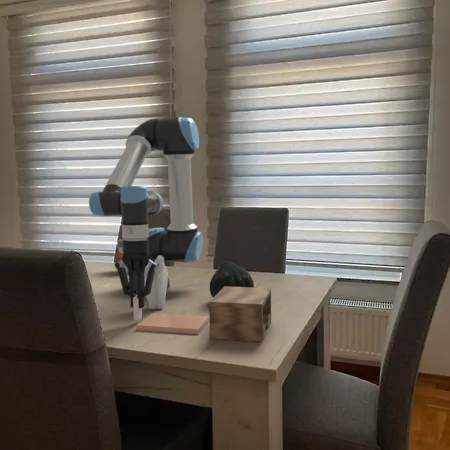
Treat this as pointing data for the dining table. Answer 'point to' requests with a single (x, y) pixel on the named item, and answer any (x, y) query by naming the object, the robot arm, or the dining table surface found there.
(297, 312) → the dining table surface
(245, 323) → the shelf
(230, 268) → the squash
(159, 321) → the tile
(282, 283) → the dining table surface
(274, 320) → the dining table surface
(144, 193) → the robot arm
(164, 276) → the shell sculpture
